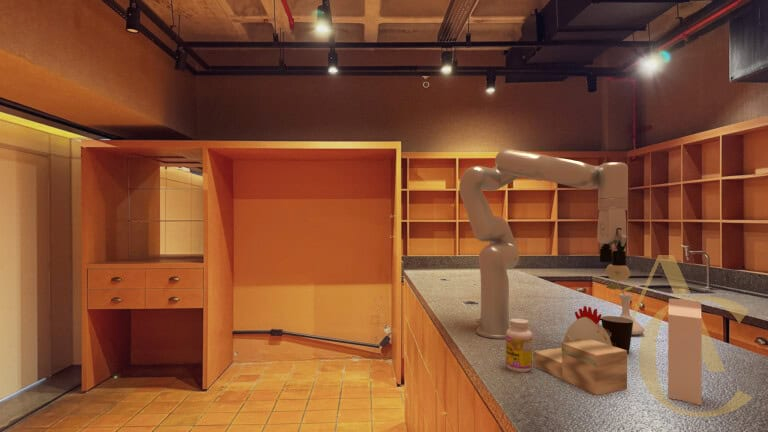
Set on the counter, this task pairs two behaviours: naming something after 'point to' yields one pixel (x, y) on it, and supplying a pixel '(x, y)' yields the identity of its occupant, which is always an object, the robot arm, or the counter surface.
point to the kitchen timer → (587, 328)
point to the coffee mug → (618, 331)
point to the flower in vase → (618, 275)
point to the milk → (685, 350)
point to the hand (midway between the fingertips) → (611, 263)
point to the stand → (586, 365)
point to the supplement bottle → (519, 346)
